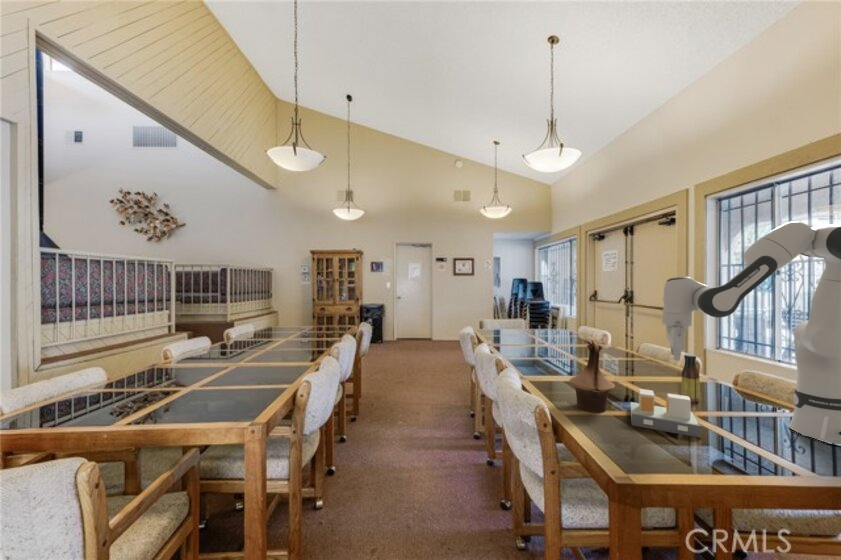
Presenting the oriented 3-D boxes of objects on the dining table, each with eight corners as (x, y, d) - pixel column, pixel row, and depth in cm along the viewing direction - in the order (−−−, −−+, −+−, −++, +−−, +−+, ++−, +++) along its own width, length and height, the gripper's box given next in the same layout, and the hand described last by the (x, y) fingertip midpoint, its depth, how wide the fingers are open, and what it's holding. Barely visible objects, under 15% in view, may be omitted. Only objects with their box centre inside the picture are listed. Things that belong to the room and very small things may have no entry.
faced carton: (652, 408, 138) (652, 390, 138) (654, 414, 132) (654, 396, 132) (638, 406, 140) (639, 388, 140) (639, 412, 134) (640, 393, 134)
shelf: (691, 419, 135) (691, 408, 135) (700, 438, 120) (701, 426, 120) (630, 409, 145) (630, 399, 145) (631, 425, 130) (632, 414, 130)
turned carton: (690, 419, 128) (690, 400, 127) (667, 415, 131) (667, 396, 131) (688, 415, 132) (688, 396, 131) (665, 411, 135) (666, 393, 135)
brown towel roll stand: (621, 418, 136) (622, 345, 135) (573, 414, 139) (574, 343, 139) (607, 401, 153) (608, 336, 152) (565, 398, 157) (565, 335, 156)
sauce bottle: (693, 398, 157) (694, 353, 157) (703, 403, 151) (704, 357, 151) (677, 397, 158) (678, 353, 157) (686, 403, 152) (687, 356, 151)
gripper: (691, 324, 121) (689, 364, 122) (683, 318, 139) (682, 353, 139) (669, 322, 124) (667, 362, 125) (664, 316, 142) (662, 351, 143)
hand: (675, 357), depth 132 cm, fingers open, 8 cm apart
